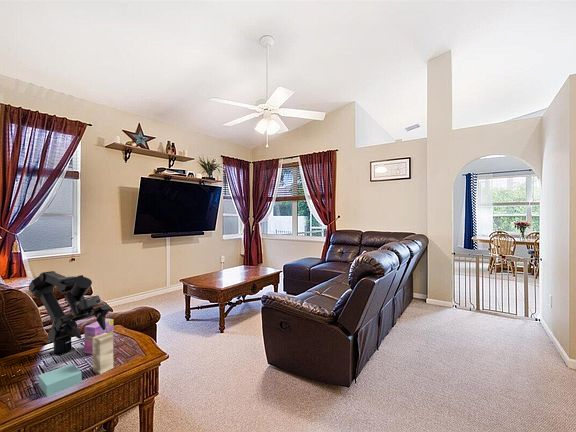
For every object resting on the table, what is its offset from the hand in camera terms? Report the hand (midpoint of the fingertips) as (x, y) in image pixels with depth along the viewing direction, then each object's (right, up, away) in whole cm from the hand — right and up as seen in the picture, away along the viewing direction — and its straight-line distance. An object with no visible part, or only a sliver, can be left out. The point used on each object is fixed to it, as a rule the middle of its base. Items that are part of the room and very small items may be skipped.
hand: (93, 333), depth 117 cm
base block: (-3, -13, -13) cm, 19 cm away
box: (-7, -13, +14) cm, 20 cm away
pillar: (+6, -13, -3) cm, 14 cm away
